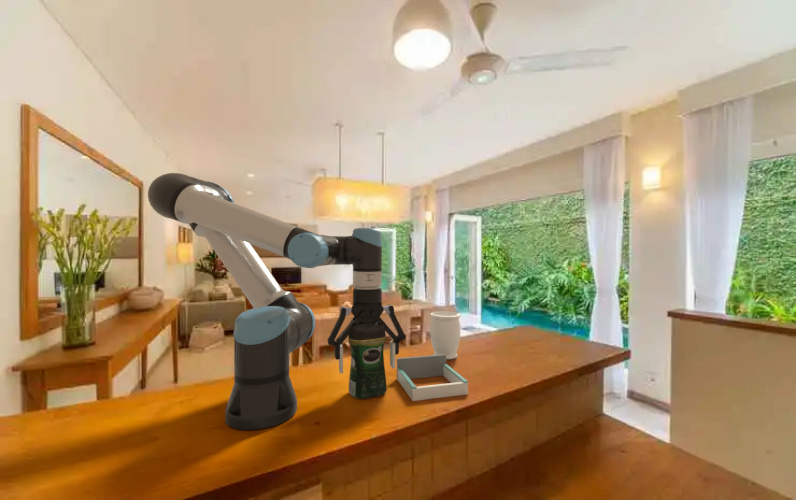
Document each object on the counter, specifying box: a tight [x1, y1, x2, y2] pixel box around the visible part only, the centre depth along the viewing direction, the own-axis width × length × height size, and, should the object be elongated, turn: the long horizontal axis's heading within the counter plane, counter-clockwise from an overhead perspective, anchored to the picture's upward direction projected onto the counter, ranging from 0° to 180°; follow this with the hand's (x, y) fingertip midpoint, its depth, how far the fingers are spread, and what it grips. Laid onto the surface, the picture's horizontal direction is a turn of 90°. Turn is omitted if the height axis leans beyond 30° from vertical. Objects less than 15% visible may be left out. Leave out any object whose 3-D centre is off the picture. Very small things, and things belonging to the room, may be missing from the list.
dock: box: [396, 354, 469, 402], centre depth 93 cm, size 15×15×6 cm
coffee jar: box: [348, 321, 388, 400], centre depth 88 cm, size 10×8×19 cm
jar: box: [429, 311, 461, 360], centre depth 120 cm, size 11×10×15 cm
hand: (367, 369), depth 88 cm, fingers open, 13 cm apart
